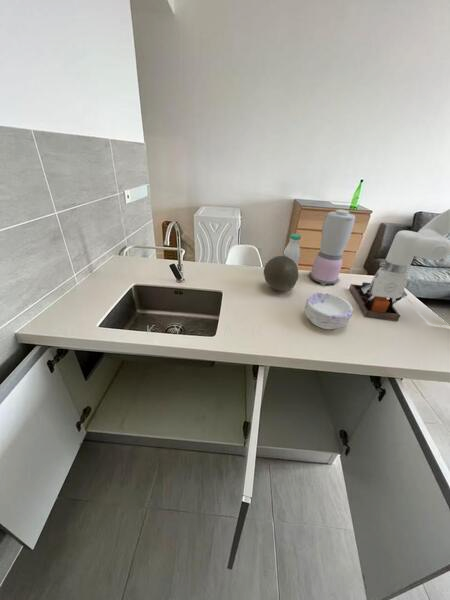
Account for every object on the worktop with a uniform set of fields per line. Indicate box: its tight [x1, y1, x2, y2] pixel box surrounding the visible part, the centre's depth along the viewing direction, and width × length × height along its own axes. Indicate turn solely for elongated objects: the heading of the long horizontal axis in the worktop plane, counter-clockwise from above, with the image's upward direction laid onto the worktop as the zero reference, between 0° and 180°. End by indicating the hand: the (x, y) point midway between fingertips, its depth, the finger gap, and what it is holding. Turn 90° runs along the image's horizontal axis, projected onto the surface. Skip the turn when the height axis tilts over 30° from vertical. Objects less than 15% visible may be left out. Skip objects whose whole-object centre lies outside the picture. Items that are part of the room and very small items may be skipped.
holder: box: [348, 283, 401, 322], centre depth 100 cm, size 12×22×3 cm, turn 171°
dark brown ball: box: [263, 255, 299, 292], centre depth 102 cm, size 14×14×15 cm
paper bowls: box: [303, 292, 354, 330], centre depth 86 cm, size 15×15×8 cm
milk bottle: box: [282, 233, 302, 268], centre depth 115 cm, size 8×8×20 cm
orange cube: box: [369, 296, 390, 313], centre depth 94 cm, size 5×5×5 cm
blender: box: [309, 209, 356, 287], centre depth 110 cm, size 16×12×32 cm
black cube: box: [359, 281, 371, 297], centre depth 103 cm, size 5×5×5 cm
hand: (376, 308), depth 95 cm, fingers open, 6 cm apart
